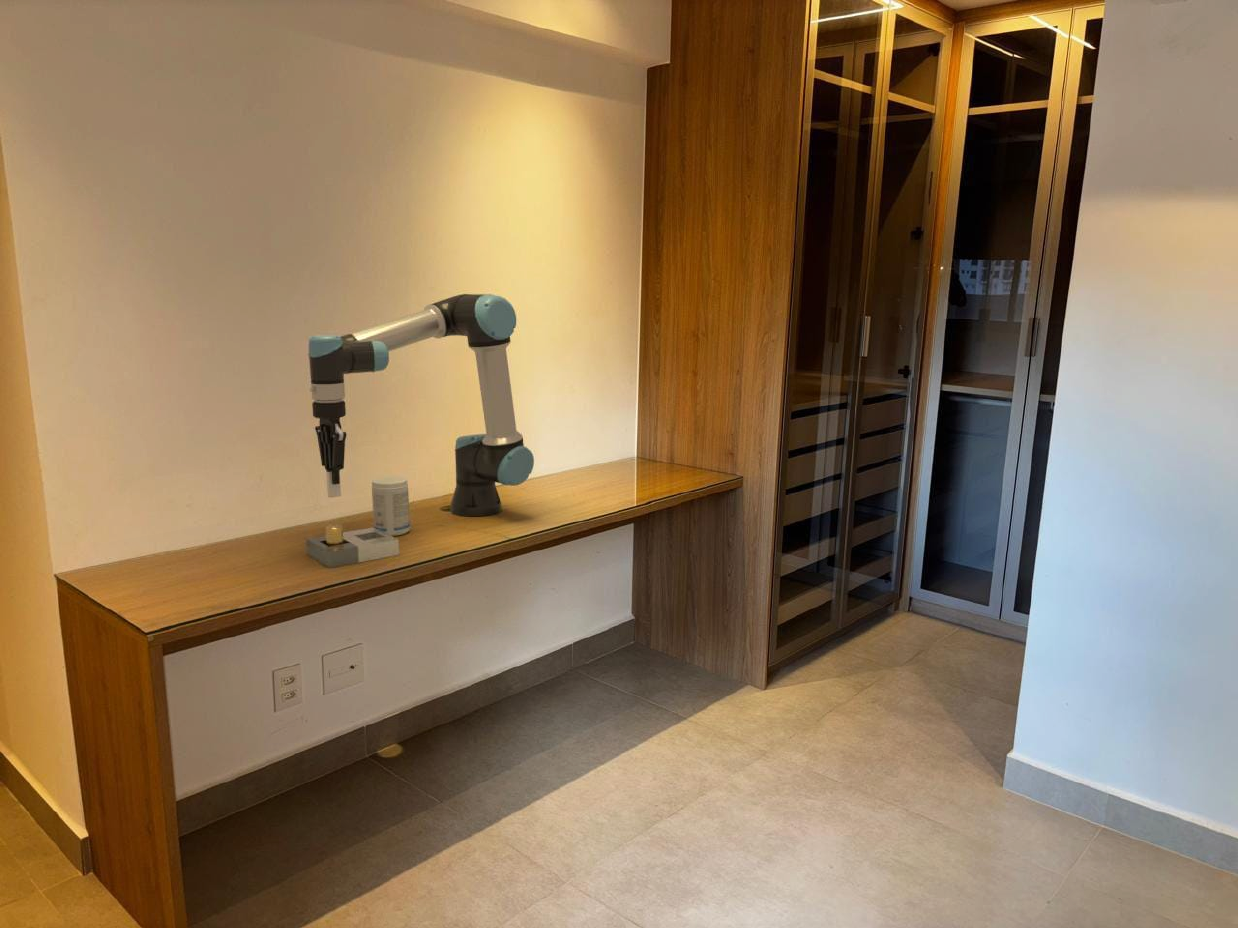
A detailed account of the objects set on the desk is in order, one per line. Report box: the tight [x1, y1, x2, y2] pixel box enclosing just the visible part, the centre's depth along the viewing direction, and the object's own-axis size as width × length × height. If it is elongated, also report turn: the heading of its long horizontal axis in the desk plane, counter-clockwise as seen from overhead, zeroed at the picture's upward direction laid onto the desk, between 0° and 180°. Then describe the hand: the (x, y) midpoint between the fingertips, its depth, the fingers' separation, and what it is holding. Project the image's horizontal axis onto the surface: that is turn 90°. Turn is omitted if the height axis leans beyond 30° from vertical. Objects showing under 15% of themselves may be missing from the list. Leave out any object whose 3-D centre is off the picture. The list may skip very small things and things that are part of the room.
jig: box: [305, 526, 400, 569], centre depth 223 cm, size 18×14×4 cm
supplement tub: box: [371, 476, 411, 537], centre depth 243 cm, size 10×10×15 cm
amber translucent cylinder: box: [325, 523, 344, 547], centre depth 220 cm, size 4×4×8 cm
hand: (334, 496), depth 218 cm, fingers closed
